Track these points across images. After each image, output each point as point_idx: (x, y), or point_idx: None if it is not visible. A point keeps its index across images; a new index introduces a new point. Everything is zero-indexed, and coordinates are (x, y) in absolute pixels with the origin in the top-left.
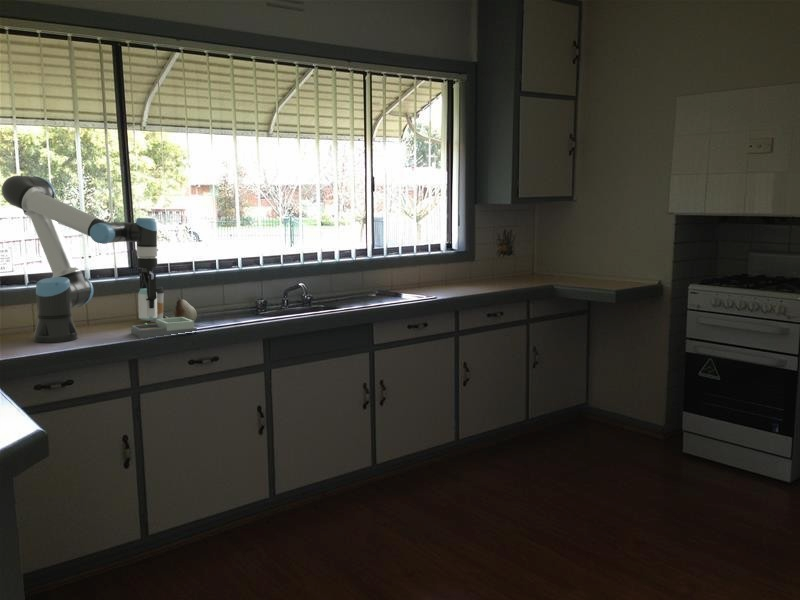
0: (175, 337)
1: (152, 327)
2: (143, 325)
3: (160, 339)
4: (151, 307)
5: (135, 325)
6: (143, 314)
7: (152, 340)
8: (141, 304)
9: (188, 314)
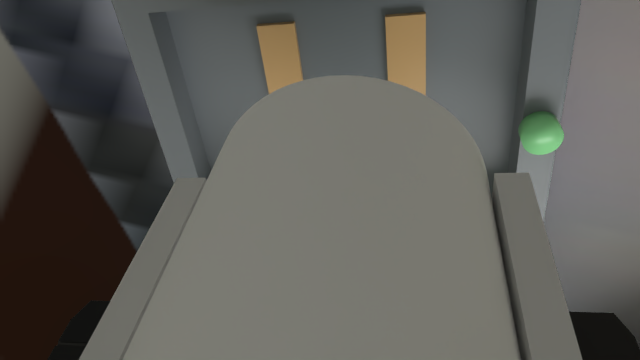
0: (119, 217)
1: (490, 169)
2: (524, 99)
3: (51, 105)
4: (82, 328)
5: (572, 4)
6: (222, 156)
7: (10, 32)
8: (189, 272)
9: None
